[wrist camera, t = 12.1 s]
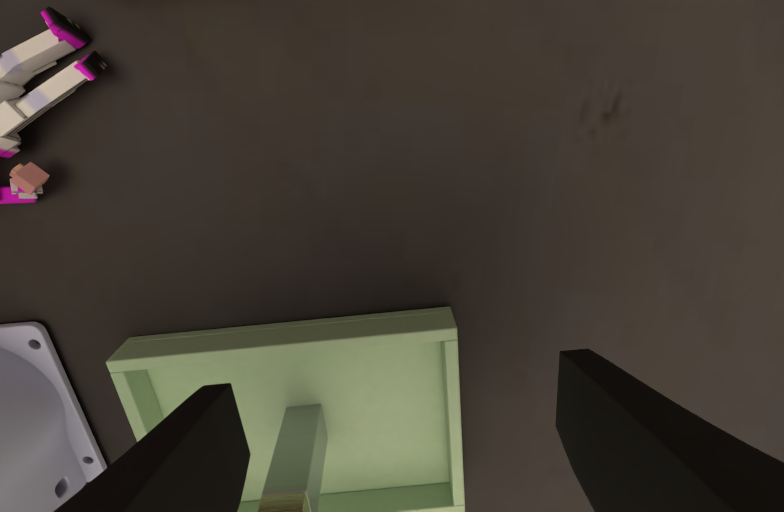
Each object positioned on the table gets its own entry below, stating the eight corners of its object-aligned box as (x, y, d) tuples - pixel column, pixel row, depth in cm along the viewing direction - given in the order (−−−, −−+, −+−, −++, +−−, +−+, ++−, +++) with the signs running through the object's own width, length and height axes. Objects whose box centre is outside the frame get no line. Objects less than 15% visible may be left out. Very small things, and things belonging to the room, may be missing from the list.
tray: (458, 481, 25) (465, 513, 23) (191, 506, 25) (175, 540, 23) (450, 305, 21) (457, 328, 19) (129, 336, 21) (104, 361, 19)
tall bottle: (328, 437, 23) (296, 665, 14) (293, 441, 23) (239, 671, 14) (321, 403, 22) (283, 622, 13) (285, 407, 22) (223, 628, 13)
